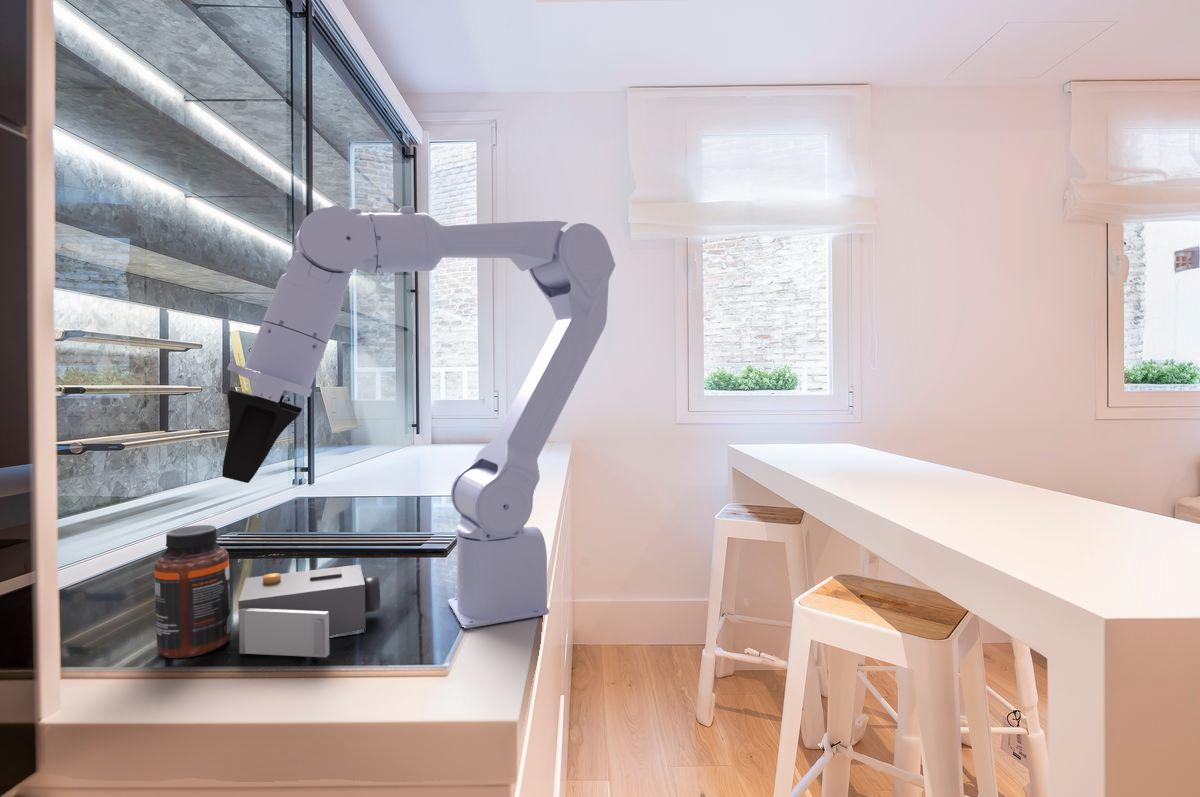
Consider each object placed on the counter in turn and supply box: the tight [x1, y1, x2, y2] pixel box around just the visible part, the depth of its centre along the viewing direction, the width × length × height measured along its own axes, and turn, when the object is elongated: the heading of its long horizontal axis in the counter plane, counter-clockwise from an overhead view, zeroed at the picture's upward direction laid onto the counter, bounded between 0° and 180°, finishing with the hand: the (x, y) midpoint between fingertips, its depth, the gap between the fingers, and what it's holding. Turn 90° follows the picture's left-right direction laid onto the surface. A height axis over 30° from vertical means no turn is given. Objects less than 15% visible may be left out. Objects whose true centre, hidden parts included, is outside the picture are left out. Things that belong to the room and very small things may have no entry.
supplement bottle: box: [154, 524, 232, 659], centre depth 59 cm, size 6×6×11 cm
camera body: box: [237, 564, 381, 655], centre depth 63 cm, size 13×7×6 cm, turn 115°
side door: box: [238, 608, 330, 658], centre depth 56 cm, size 8×1×4 cm, turn 85°
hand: (240, 474), depth 55 cm, fingers open, 7 cm apart
